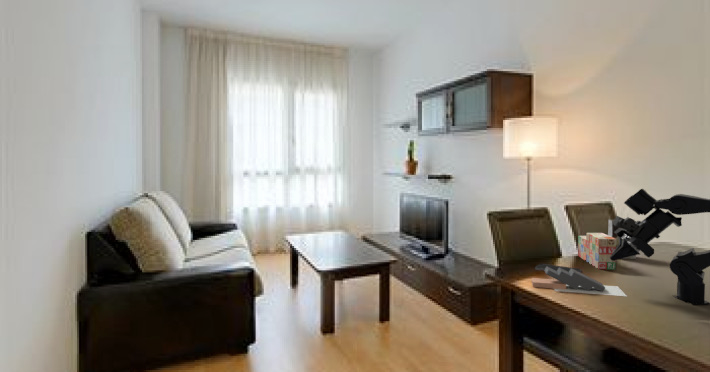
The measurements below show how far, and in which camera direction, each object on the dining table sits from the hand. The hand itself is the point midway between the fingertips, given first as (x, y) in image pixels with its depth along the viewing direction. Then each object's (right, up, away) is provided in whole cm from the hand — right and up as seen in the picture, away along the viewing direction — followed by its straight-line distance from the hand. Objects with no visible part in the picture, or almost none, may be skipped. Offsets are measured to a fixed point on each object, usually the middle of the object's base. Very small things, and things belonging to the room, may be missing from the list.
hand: (610, 259), depth 127 cm
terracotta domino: (-12, -9, +5) cm, 16 cm away
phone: (-3, -10, +27) cm, 29 cm away
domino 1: (-9, -9, +4) cm, 14 cm away
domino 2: (-5, -9, +3) cm, 11 cm away
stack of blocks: (+17, -8, +37) cm, 42 cm away
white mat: (-6, -11, +3) cm, 13 cm away
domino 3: (-2, -9, +2) cm, 10 cm away
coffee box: (+33, -7, +44) cm, 56 cm away
